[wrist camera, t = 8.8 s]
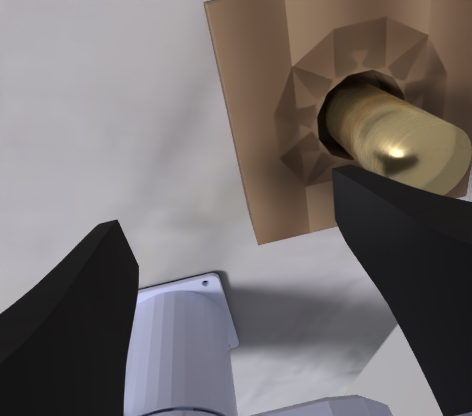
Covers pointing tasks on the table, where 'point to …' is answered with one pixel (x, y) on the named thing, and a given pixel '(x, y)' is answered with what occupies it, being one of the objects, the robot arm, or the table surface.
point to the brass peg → (395, 137)
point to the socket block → (328, 89)
